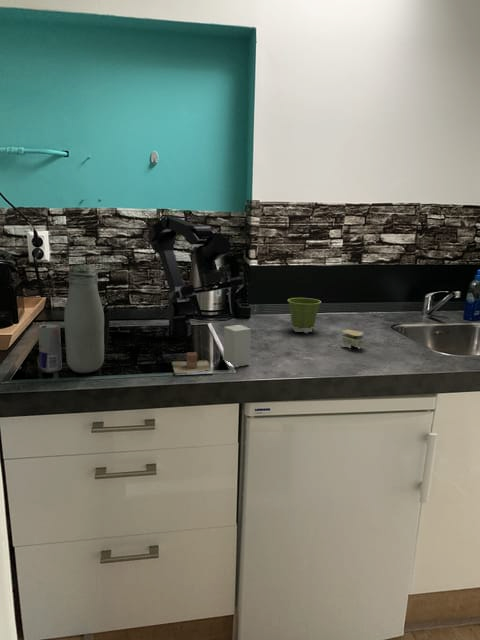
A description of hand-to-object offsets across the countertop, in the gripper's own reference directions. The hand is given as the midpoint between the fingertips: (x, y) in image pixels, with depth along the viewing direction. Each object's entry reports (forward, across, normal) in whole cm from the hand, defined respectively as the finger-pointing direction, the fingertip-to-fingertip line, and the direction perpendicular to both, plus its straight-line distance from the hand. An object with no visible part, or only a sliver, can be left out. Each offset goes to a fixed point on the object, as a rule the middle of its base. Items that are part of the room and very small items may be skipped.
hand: (217, 316), depth 153 cm
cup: (+2, -36, +11) cm, 38 cm away
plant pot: (+8, +34, +27) cm, 44 cm away
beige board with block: (+14, -11, -8) cm, 20 cm away
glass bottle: (+9, -39, -7) cm, 40 cm away
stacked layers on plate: (+18, +42, +8) cm, 46 cm away
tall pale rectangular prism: (+15, +2, -4) cm, 16 cm away
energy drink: (+6, -48, -5) cm, 48 cm away
